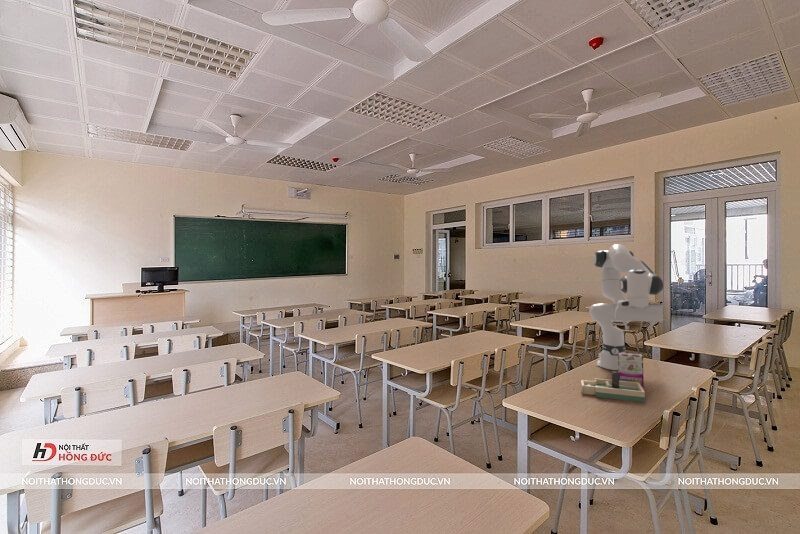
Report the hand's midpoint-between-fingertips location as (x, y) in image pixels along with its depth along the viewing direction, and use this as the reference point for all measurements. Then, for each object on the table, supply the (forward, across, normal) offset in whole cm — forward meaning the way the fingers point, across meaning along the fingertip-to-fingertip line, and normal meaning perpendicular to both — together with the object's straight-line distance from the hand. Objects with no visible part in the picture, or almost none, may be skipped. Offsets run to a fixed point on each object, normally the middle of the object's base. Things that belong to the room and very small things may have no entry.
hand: (638, 330), depth 180 cm
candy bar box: (+31, +2, -11) cm, 33 cm away
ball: (+29, +23, +6) cm, 38 cm away
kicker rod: (+28, +12, +6) cm, 31 cm away
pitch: (+31, +13, +6) cm, 34 cm away
